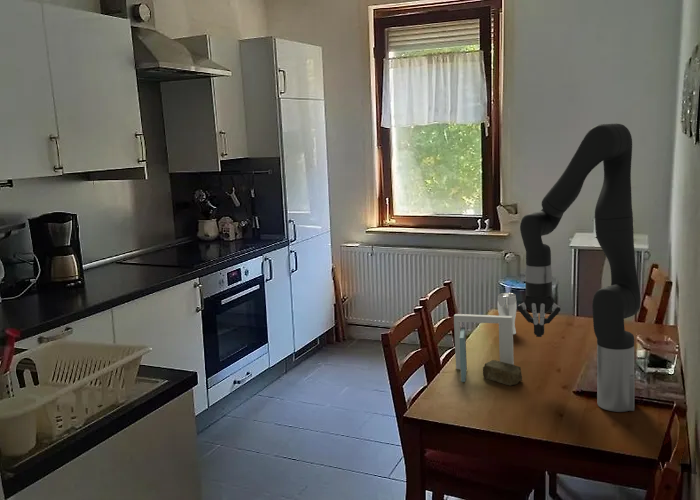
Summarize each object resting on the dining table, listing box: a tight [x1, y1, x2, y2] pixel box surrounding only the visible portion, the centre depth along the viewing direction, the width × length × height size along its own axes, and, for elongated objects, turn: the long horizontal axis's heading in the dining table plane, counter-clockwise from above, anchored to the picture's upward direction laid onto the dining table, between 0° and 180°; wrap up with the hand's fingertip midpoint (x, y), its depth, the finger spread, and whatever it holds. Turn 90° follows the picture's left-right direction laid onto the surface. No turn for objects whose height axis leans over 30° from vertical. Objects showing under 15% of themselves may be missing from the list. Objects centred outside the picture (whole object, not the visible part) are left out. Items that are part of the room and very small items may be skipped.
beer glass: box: [497, 292, 518, 336], centre depth 243 cm, size 7×7×15 cm
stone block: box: [482, 359, 523, 387], centre depth 198 cm, size 6×12×5 cm, turn 40°
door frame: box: [453, 313, 515, 370], centre depth 206 cm, size 18×2×18 cm, turn 68°
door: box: [460, 326, 468, 383], centre depth 202 cm, size 12×1×14 cm, turn 168°
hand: (539, 336), depth 192 cm, fingers closed
